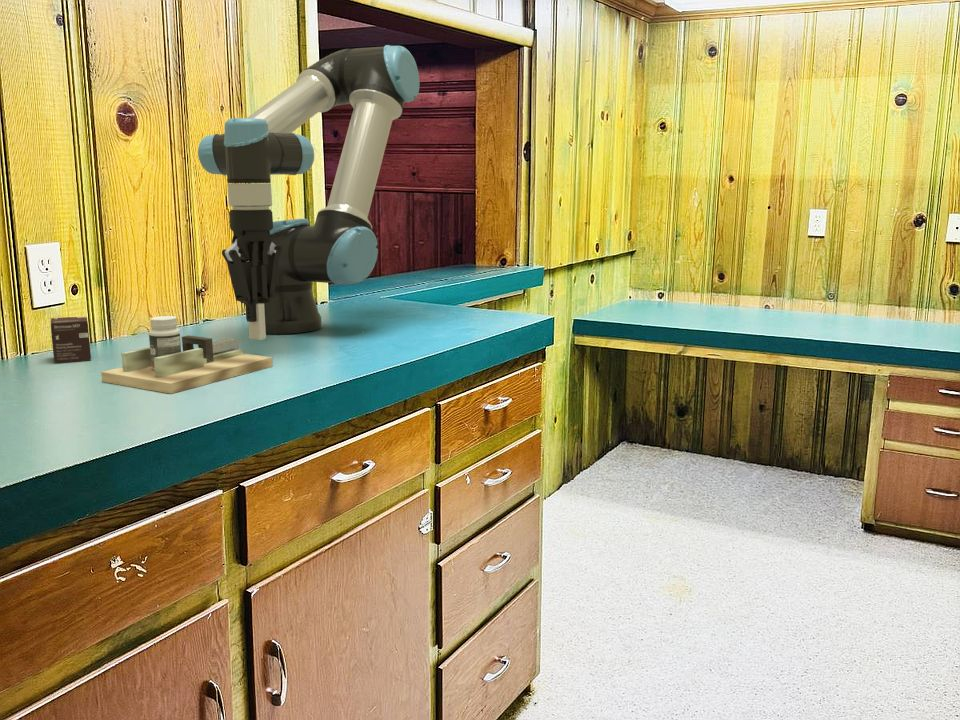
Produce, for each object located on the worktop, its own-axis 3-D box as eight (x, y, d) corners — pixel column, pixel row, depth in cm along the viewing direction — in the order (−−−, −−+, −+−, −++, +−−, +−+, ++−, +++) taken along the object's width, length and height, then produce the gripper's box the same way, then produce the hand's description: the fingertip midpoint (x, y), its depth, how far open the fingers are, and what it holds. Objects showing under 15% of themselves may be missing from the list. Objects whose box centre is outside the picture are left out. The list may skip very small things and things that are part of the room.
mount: (206, 357, 156) (204, 326, 155) (272, 366, 148) (271, 334, 147) (102, 381, 137) (98, 347, 136) (171, 393, 130) (168, 357, 128)
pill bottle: (151, 366, 141) (147, 316, 139) (182, 364, 143) (178, 314, 141) (151, 372, 137) (147, 320, 135) (182, 370, 138) (178, 319, 136)
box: (53, 364, 151) (49, 323, 149) (54, 357, 156) (50, 317, 155) (91, 360, 153) (87, 320, 152) (90, 354, 159) (87, 315, 157)
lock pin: (229, 351, 153) (228, 338, 152) (239, 352, 152) (238, 339, 151) (199, 358, 147) (198, 344, 146) (209, 359, 146) (208, 346, 145)
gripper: (260, 207, 160) (267, 331, 164) (207, 209, 148) (216, 342, 153) (291, 207, 156) (297, 334, 161) (239, 209, 145) (246, 346, 150)
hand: (257, 338), depth 157 cm, fingers closed
